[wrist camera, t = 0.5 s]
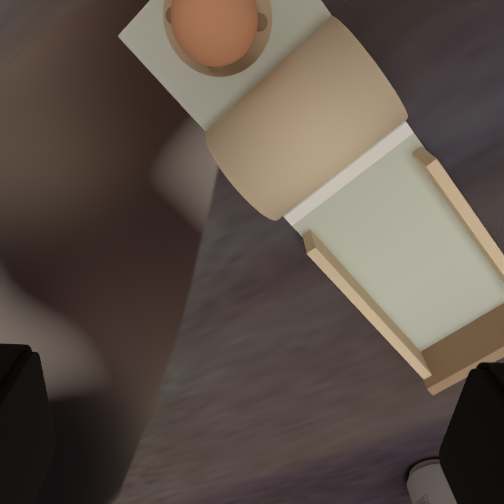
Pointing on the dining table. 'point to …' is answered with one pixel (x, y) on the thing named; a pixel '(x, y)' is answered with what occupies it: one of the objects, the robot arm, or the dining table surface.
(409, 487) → the energy drink can
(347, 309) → the dining table surface
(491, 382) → the robot arm
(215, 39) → the ball
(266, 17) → the tee
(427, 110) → the dining table surface
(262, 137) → the lane
